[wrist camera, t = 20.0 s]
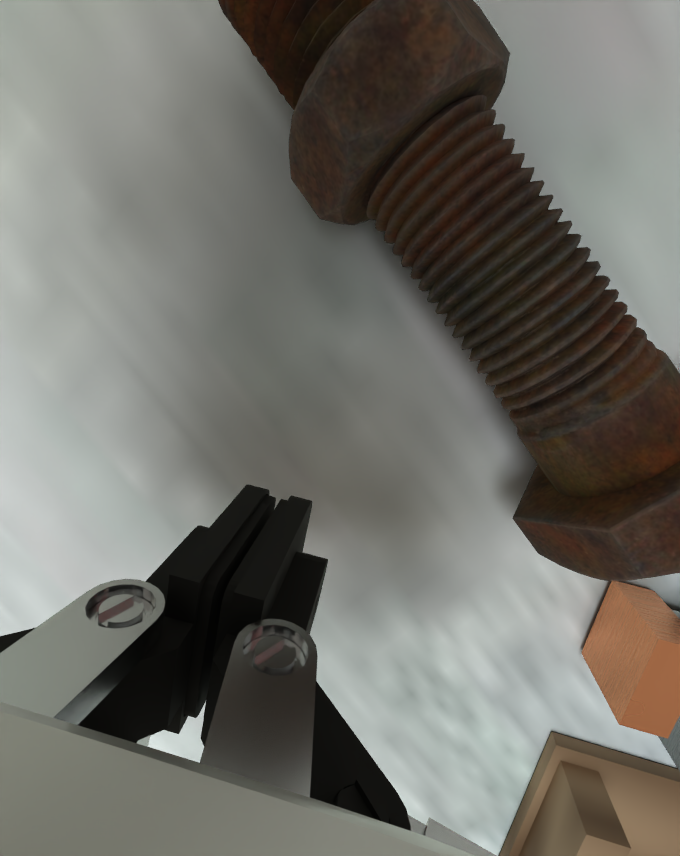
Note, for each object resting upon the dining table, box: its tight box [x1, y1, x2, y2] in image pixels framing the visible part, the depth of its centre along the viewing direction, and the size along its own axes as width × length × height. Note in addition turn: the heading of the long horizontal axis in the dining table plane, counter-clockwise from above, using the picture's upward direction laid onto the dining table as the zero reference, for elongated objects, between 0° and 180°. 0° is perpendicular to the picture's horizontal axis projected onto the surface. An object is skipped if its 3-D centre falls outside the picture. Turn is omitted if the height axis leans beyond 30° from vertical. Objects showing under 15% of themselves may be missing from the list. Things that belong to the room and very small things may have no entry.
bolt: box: [218, 0, 680, 581], centre depth 10 cm, size 6×5×15 cm
